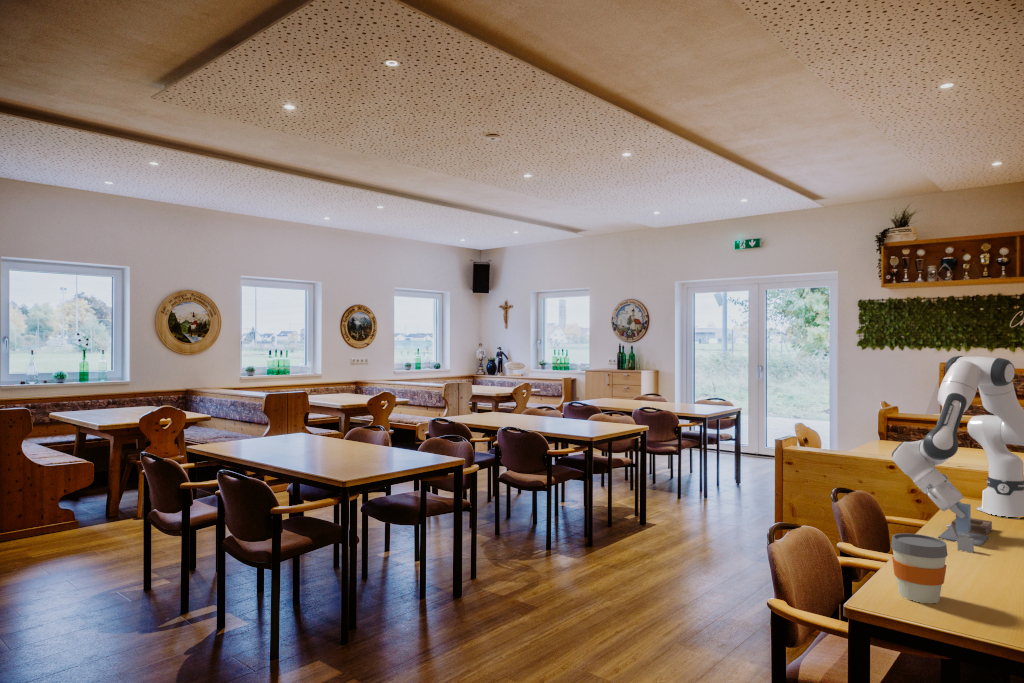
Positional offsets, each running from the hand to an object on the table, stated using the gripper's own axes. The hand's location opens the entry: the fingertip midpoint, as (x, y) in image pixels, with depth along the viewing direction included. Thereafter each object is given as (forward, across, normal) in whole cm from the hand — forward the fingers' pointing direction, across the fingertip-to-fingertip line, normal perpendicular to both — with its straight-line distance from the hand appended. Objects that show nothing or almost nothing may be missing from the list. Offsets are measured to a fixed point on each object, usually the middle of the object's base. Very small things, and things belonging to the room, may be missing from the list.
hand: (965, 515), depth 220 cm
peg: (+3, 0, +4) cm, 5 cm away
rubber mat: (+5, 0, +6) cm, 8 cm away
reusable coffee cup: (+8, -72, +4) cm, 73 cm away
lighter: (+7, -16, +5) cm, 18 cm away
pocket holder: (+5, +15, +6) cm, 17 cm away
